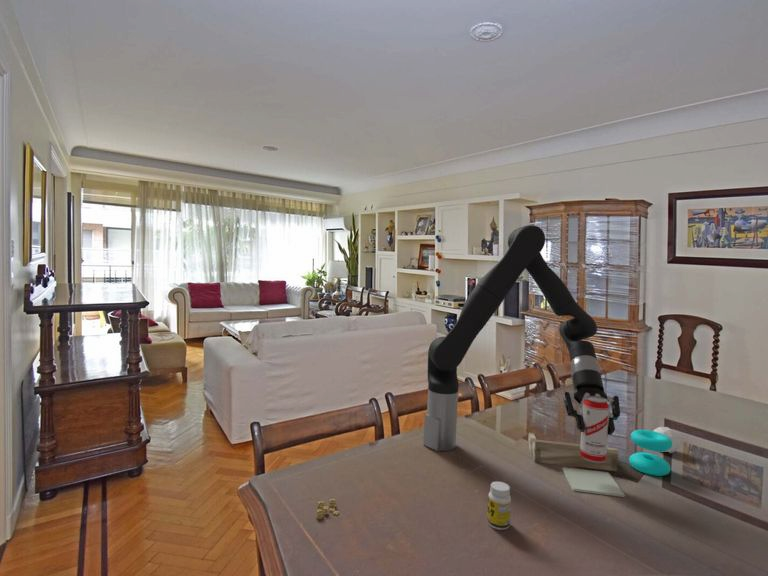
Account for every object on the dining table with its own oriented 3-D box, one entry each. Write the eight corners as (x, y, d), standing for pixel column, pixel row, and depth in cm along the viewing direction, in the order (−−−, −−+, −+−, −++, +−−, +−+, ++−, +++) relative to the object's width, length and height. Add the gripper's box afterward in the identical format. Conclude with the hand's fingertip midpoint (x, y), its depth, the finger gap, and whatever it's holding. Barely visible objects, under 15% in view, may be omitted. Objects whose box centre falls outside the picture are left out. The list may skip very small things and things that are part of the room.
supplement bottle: (483, 517, 95) (485, 480, 94) (504, 517, 95) (506, 480, 95) (491, 530, 90) (493, 491, 90) (513, 530, 91) (515, 491, 90)
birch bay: (617, 471, 120) (618, 450, 120) (534, 462, 124) (535, 441, 124) (602, 452, 132) (603, 433, 132) (527, 444, 136) (528, 426, 136)
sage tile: (624, 497, 106) (624, 494, 106) (572, 490, 108) (573, 488, 108) (608, 474, 118) (608, 472, 118) (561, 469, 120) (562, 467, 120)
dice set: (316, 522, 92) (316, 513, 92) (313, 509, 97) (313, 500, 96) (340, 519, 93) (340, 510, 93) (335, 506, 98) (336, 498, 98)
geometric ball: (669, 459, 136) (688, 441, 134) (664, 457, 130) (684, 439, 129) (647, 440, 141) (665, 423, 140) (642, 437, 135) (661, 419, 134)
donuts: (635, 438, 119) (627, 426, 128) (633, 473, 119) (625, 458, 129) (677, 444, 115) (666, 431, 125) (675, 480, 116) (664, 465, 125)
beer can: (609, 465, 109) (613, 403, 108) (583, 462, 110) (586, 401, 110) (602, 455, 115) (605, 396, 114) (577, 452, 117) (580, 394, 116)
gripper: (562, 366, 120) (570, 423, 109) (617, 370, 118) (631, 428, 107) (556, 380, 126) (564, 435, 115) (609, 384, 123) (622, 441, 112)
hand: (596, 431), depth 111 cm, fingers closed on beer can, 6 cm apart
